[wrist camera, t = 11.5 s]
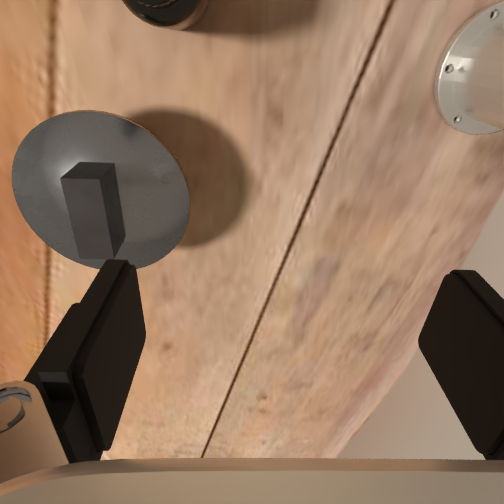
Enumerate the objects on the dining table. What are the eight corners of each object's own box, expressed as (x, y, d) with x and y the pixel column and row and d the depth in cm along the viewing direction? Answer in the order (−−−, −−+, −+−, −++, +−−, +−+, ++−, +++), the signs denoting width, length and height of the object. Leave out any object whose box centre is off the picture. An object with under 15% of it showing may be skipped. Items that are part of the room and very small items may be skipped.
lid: (186, 114, 32) (179, 127, 27) (193, 267, 41) (188, 296, 36) (-9, 105, 31) (-50, 117, 26) (41, 266, 40) (17, 295, 35)
